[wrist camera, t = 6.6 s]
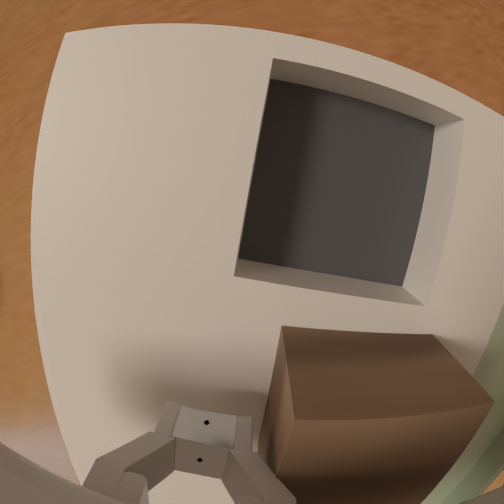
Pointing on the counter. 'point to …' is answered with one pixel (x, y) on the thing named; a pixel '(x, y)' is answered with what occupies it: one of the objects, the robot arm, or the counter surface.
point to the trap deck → (253, 228)
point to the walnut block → (366, 415)
